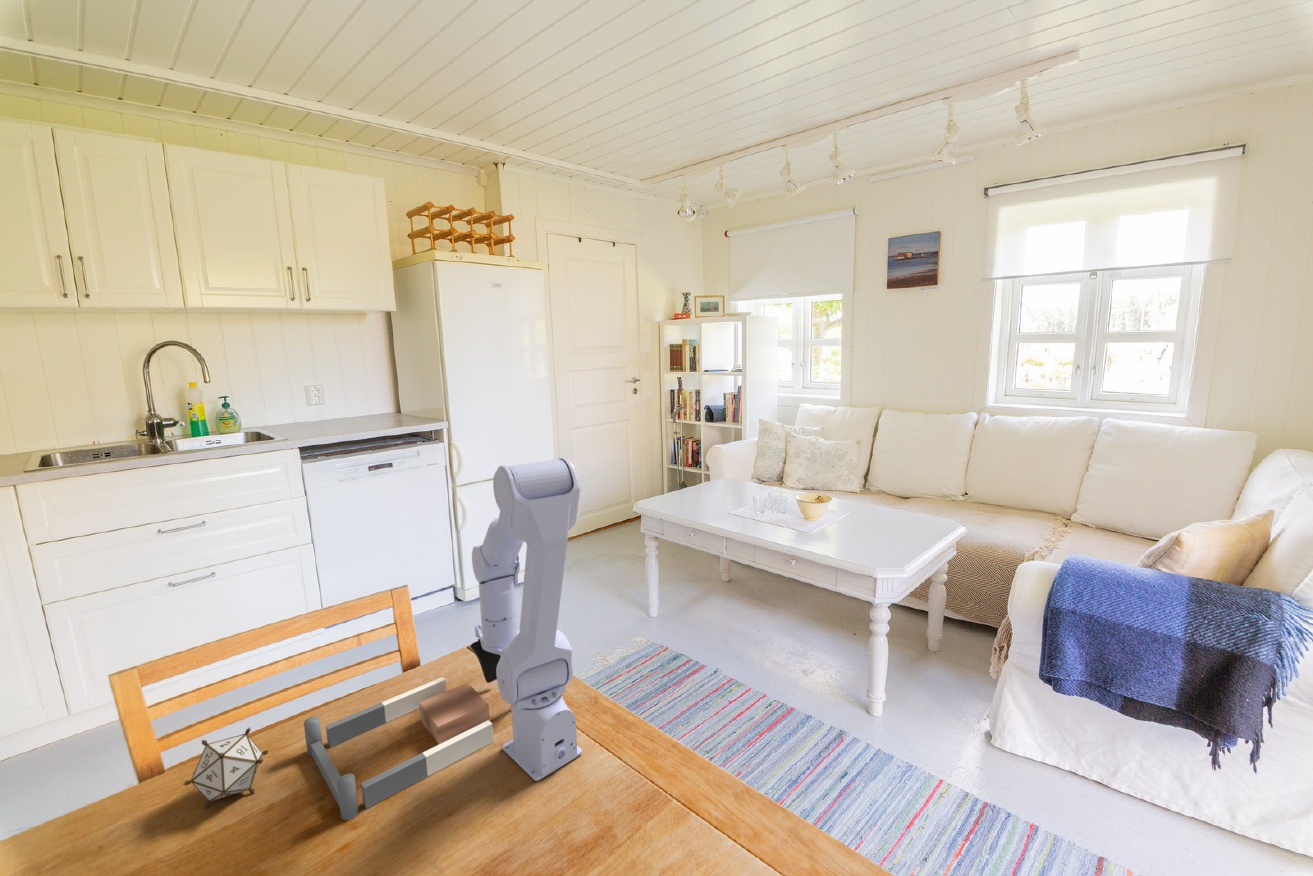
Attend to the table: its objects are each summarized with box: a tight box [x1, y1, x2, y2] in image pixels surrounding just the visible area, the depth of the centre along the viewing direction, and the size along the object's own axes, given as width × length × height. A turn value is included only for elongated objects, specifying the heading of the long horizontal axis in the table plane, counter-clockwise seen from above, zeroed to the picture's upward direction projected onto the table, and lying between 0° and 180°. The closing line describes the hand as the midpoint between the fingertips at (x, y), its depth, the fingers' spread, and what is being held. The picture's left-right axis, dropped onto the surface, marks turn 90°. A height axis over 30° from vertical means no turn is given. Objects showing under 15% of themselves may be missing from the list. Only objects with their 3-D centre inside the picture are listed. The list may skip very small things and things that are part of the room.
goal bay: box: [303, 701, 429, 822], centre depth 82 cm, size 18×11×5 cm, turn 44°
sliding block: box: [419, 682, 491, 745], centre depth 91 cm, size 8×8×4 cm
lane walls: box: [381, 676, 494, 777], centre depth 89 cm, size 17×10×3 cm, turn 44°
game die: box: [182, 726, 270, 810], centre depth 76 cm, size 9×8×10 cm
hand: (503, 689), depth 97 cm, fingers open, 7 cm apart
